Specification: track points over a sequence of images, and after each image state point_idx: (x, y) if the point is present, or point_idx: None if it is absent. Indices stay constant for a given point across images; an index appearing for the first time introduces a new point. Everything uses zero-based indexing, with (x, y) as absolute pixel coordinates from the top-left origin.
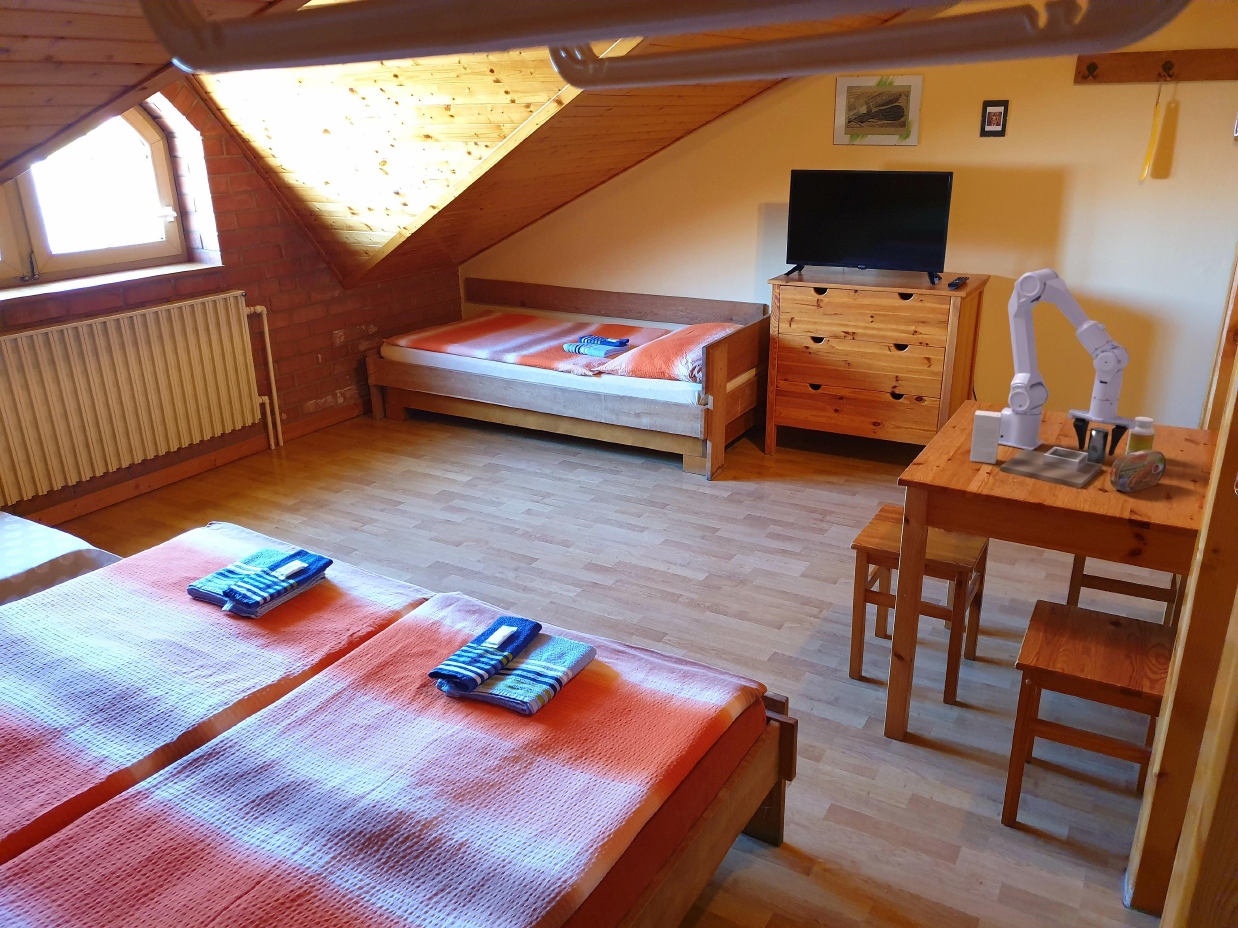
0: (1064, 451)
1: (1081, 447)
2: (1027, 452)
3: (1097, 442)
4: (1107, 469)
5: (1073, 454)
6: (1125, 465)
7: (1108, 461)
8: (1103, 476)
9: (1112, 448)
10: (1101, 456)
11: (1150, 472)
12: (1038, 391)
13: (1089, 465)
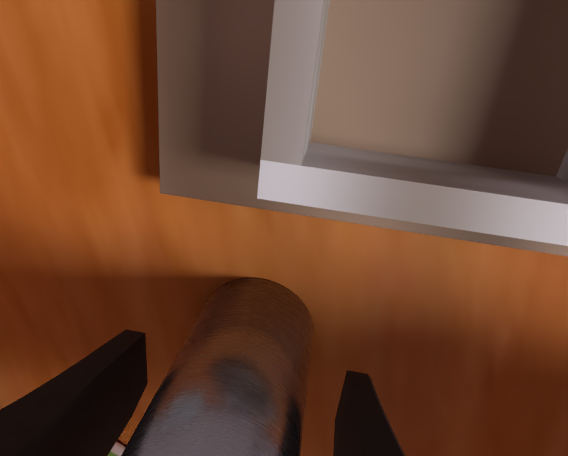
0: (515, 192)
1: (352, 386)
2: None
3: (195, 411)
4: (146, 202)
5: (406, 169)
6: None
7: None
8: (115, 5)
9: (75, 366)
10: (196, 324)
11: None
12: None
13: (239, 109)
